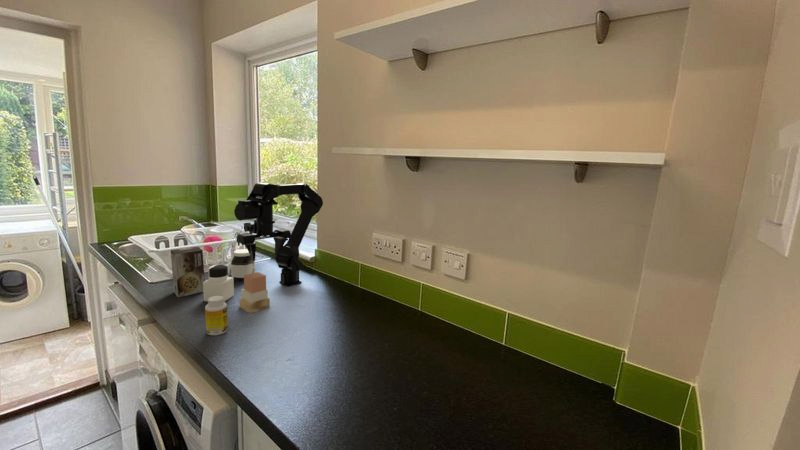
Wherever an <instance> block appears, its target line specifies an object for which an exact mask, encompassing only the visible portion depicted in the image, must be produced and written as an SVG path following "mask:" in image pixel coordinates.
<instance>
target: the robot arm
mask: <svg viewBox="0 0 800 450" xmlns="http://www.w3.org/2000/svg"><path fill="white" fill-rule="evenodd" d="M287 195H297V196H298V197H297V198H298V199H299V200H300V201H301V202H300V214H299V216H298V219H297V221H296V223H295V225H294V227H293V229H292V232H291V231H290V230H289V229H285V228H278V229H274V224H276V221H275V219H274V210H273V207H274V206H275V205H278V204H279V203H278V201H276V200H275V199H277V198H279V196H287ZM323 204H324V201H323V198H322V197H321V196H320V195H319V194H318V192H316V191H315V190H313V189H312V188H311V187H310V186H309V185H308V184H307V183H302V182H298V183H289V184H276V183H275V184H273V183H268V182H267V183H266V182H256V183H254V185H253V188H252V189H251V191H250V192H249V195H248V196H247V198H246V199H245V200H238V201H237V204H236V205H235V207H234V210H233V212H234V216H235V218H236V219H237V220H238V221H247V220H253V223H251V222H244V223H243V231H244V233H238V234H237V236H236V242H237V243H239V244H240V245H243V246H245V248H246V249H248V251H249V254H250V256H251V259H252V261H255V262H256V250H257V248H256V247H257V244H256V243H255V242H256V241H257V240H265V239H270V238H273V241H274V255H275V263H276V264H277V266H278V268H279V269H281V272H280V280H279V284H282V285H284V286H285V287H286V286H287V287H291V286H295V285H298V284H302V281H301V280H300V270H303V265H304V264H303V262H302V261H301V260H299V258H300V246H301V243H302V241H303V238H304V236H305V235H306V232H307V230H308V227H309V226H310V223H311V221H312V219H313V217H314V216H316V215H317V214H318V213H319V212H320V210H321V208H322V207H323ZM286 241H287V242H286Z"/></svg>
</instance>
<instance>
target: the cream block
mask: <svg viewBox="0 0 800 450" xmlns="http://www.w3.org/2000/svg"><path fill="white" fill-rule="evenodd" d="M240 292H241V297H242V298H243V299H245V300H246V301H248V302H250V303H252V302H256V301H259V300H263V299H266V298H269V297H268V289H267V288H266V290H263V291H259V292H256V293H250V292H248V291H246V290H244V288H242V289H241V291H240Z"/></svg>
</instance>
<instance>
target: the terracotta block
mask: <svg viewBox="0 0 800 450" xmlns="http://www.w3.org/2000/svg"><path fill="white" fill-rule="evenodd" d="M243 287H244V288H243V289H244V290H246V291H248V292H250V293H256V292H259V291H263V290H266V289H267V275H266V274H264V273H261V272H258V271H257V272H256V271H255V273H252V274H248V275H244V281H243Z"/></svg>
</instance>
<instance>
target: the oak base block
mask: <svg viewBox="0 0 800 450" xmlns="http://www.w3.org/2000/svg"><path fill="white" fill-rule="evenodd" d="M238 300H239V308H241V309H242V310H244V311H245V312H247V313H249V314H253V313H256V312H258V311H262V310H265V309H269V308H270V304H271V303H270V302H271V301H270V297H268V298H266V299H263V300H259V301H256V302H252V303H250V302H248V301H246V300H245V299H243V298H242V296H241V297H239V299H238Z"/></svg>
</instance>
